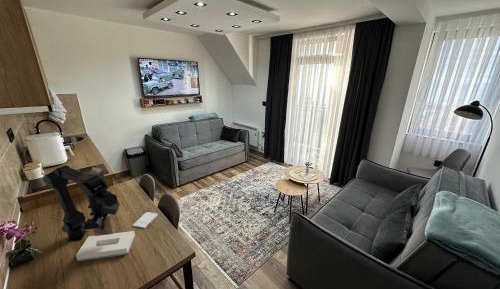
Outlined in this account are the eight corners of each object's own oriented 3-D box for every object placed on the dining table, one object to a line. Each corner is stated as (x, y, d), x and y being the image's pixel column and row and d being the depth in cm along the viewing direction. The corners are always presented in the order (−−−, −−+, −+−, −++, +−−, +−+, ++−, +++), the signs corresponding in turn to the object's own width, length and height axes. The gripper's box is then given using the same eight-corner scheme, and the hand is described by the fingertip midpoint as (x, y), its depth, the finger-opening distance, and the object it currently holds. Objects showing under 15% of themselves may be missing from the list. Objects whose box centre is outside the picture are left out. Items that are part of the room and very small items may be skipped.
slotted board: (77, 261, 99) (75, 255, 98) (90, 242, 110) (88, 236, 109) (127, 254, 104) (126, 248, 102) (135, 236, 115) (134, 230, 113)
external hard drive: (157, 215, 133) (144, 229, 121) (146, 213, 134) (132, 227, 122) (157, 213, 132) (144, 227, 120) (146, 211, 133) (132, 224, 122)
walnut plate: (95, 236, 102) (90, 221, 99) (97, 232, 104) (93, 218, 101) (113, 233, 104) (109, 219, 101) (115, 230, 106) (111, 216, 103)
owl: (95, 190, 157) (88, 166, 150) (113, 188, 160) (108, 165, 154) (87, 199, 146) (80, 174, 139) (107, 197, 149) (101, 172, 142)
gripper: (107, 211, 91) (114, 239, 96) (122, 189, 108) (127, 213, 113) (78, 214, 88) (87, 243, 94) (98, 191, 106) (104, 216, 111)
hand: (103, 227), depth 103 cm, fingers closed on walnut plate, 2 cm apart
